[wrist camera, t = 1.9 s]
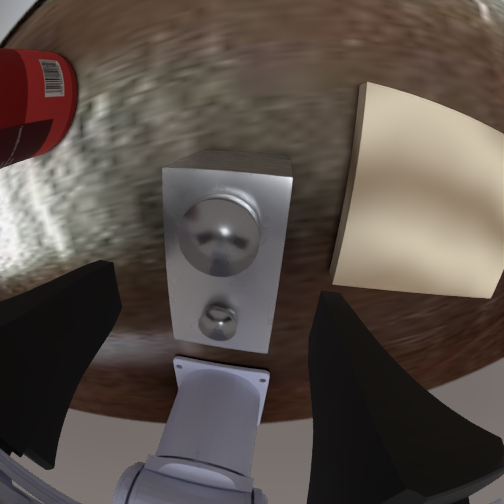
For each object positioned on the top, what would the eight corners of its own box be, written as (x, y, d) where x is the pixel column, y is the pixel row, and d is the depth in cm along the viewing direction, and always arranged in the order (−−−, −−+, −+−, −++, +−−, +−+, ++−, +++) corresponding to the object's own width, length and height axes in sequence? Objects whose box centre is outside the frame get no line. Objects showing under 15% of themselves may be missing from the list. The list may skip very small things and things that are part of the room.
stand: (481, 287, 16) (490, 298, 15) (329, 271, 17) (332, 284, 16) (521, 148, 11) (534, 152, 10) (359, 85, 12) (367, 81, 11)
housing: (274, 284, 18) (265, 365, 12) (204, 275, 18) (168, 349, 12) (289, 156, 14) (293, 182, 8) (206, 149, 15) (152, 172, 9)
